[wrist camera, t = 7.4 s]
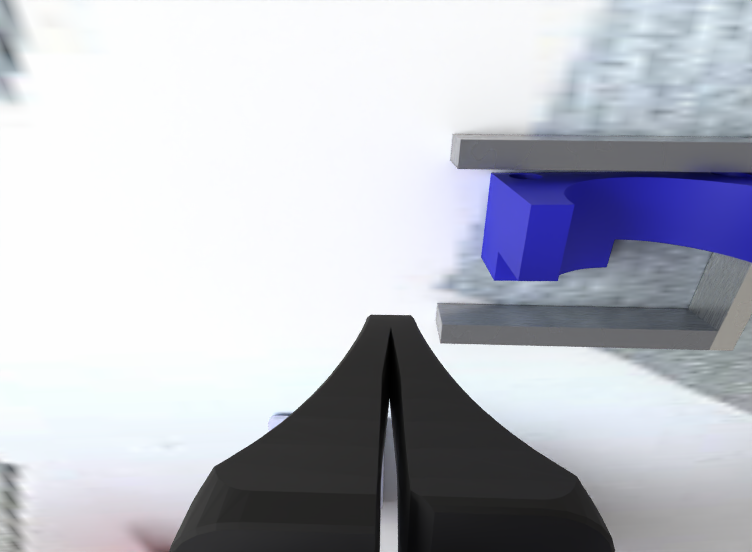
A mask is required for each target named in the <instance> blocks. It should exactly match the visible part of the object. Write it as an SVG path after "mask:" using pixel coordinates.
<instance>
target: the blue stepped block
mask: <svg viewBox="0 0 752 552" xmlns="http://www.w3.org/2000/svg"><path fill="white" fill-rule="evenodd" d="M614 239H617V240H640V241H651V242H660V243H667V244H674V245H680V246H686V247H692V248H696V249H701V250H706V251H710V252H715V253H719V254H723V255H727V256H731V257H734V258H738V259H741V260H745V261H748V262H751V263H752V172H672V171H637V172H529V173H491V179H490V187H489V196H488V204H487V213H486V221H485V230H484V238H483V247H482V255H481V258H482V259H483V261H484V263H485V265H486V267H487V268H488V270H489V272H490V274H491V276H492V277H493V279H494V281H558V277H559V275H561V274H564V273H566V272H570V271H574V270H579V269H586V268H600V267H607V264H608V261H609V257H610V254H611V250H612V246H613V243H614Z"/></svg>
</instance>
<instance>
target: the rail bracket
mask: <svg viewBox="0 0 752 552" xmlns="http://www.w3.org/2000/svg"><path fill="white" fill-rule="evenodd" d="M450 161H451V162H452V163H453V164H454V165H455V166H456V167H457V169H512V170H592V171H672V172H752V137H682V136H582V135H482V134H453V137H452V148H451V159H450ZM751 315H752V263H751V262H748V261H745V260H741V259H738V258H734V257H731V256H727V255H723V254H719V253H715V252H713V253H712V255H711V257H710V260H709V262H708V264H707V267H706V269H705V271H704V274H703V276H702V278H701V280H700V283H699V285H698V287H697V290H696V292H695V294H694V297H693V299H692V301H691V304H690V306H689V308H688V309H666V308H621V307H576V306H531V305H486V304H441V303H437V313H436V324H437V329H438V334H439V339H440V343H451V344H491V345H531V346H571V347H611V348H650V349H690V350H730V351H733V349H734V347H735V345H736V343H737V341H738V339H739V337H740V335H741V334H742V332H743V330H744V328H745V326H746V324H747V322H748V320H749V318H750V316H751Z"/></svg>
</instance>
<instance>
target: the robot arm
mask: <svg viewBox="0 0 752 552" xmlns="http://www.w3.org/2000/svg"><path fill="white" fill-rule="evenodd" d="M389 398H390V408H391V418H392V428H393V438H394V447H395V457H396V468H397V490H398V552H615V549H614V545H613V540H612V537H611V535H610V533H609V531H608V529H607V527H606V525H605V523H604V521H603V519H602V517H601V515H600V513H599V512H598V510H597V508H596V506H595V505H594V503H593V501H592V500H591V498H590V496H589V495H588V493H587V492H586V490H585V489H584V487H583V486H582V484H581V482H580V481H579V479H578V477H577V476H575V475H574V474H572V473H570V472H569V471H567V470H566V469H564V468H562V467H561V466H559V465H558V464H556V463H555V462H553V461H551V460H550V459H548V458H547V457H545V456H543V455H542V454H540V453H539V452H537V451H536V450H534V449H533V448H531V447H530V446H528V445H527V444H526V443H524V442H523V441H522V440H520V439H519V438H517V437H516V436H515V435H513V434H512V433H511V432H509V431H508V430H507V429H505V428H504V427H503V426H502V425H501V424H499V423H498V422H497V421H496V420H495V419H493V418H492V417H491V416H490V415H489V414H488V413H486V412H485V411H484V410H483V409H482V408H481V407H480V406H479V405H478V404H477V403H475V402H474V401H473V400H472V399H471V398H470V397H469V396H468V394H467V393H466V392H465V391H464V390H463V389H462V388H461V387H460V386H459V385H458V384H457V383H456V381H455V380H454V379H453V378H452V377H451V375H450V374H449V373H448V372H447V370H446V369H445V368H444V367H443V365H442V364H441V363H440V361H439V360H438V359H437V357H436V356H435V354H434V353H433V351H432V350H431V348H430V347H429V345H428V344H427V342H426V341H425V339H424V337H423V336H422V334H421V332H420V330H419V328H418V326H417V324H416V322H415V320H414V318H413V317H412V316H411V315H370V316H369V317H368V318H367V319H366V322H365V324H364V326H363V328H362V330H361V332H360V334H359V336H358V337H357V339H356V341H355V342H354V344H353V345H352V347H351V348H350V350H349V351H348V353H347V354H346V356H345V357H344V358H343V360H342V361H341V362H340V364H339V365H338V366H337V368H336V369H335V370H334V371H333V373H332V374H331V375H330V376H329V377H328V379H327V380H326V381H325V382H324V383H323V384H322V385H321V386H320V387H319V388H318V389H317V391H316V392H315V393H314V394H313V395H312V396H311V397H310V398H308V399H307V400H306V401H305V402H304V403H303V404H302V405H301V406H300V407H299V408H298V409H297V410H296V411H294V412H293V413H292V414H291V415H290V416H277V415H275V416H271V417H270V418H269V420H268V429H269V432H268V433H267V434H265V435H264V436H263V437H261V438H260V439H258V440H257V441H255V442H254V443H252V444H251V445H249V446H248V447H246V448H244V449H243V450H241V451H239V452H238V453H236V454H235V455H233V456H231V457H230V458H228V459H227V460H225V461H223V462H222V463H220V464H218V465H216V466H215V467H214V468H213V469H212V471H211V472H210V474H209V476H208V477H207V479H206V481H205V482H204V484H203V485H202V487H201V488H200V490H199V492H198V493H197V495H196V497H195V498H194V500H193V502H192V504H191V506H190V508H189V510H188V512H187V514H186V516H185V518H184V520H183V522H182V524H181V526H180V529H179V531H178V533H177V535H176V537H175V539H174V541H173V543H172V545H171V548H170V551H169V552H380V509H381V508H382V507H383V472H384V444H385V435H386V426H387V417H388V408H389Z"/></svg>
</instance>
